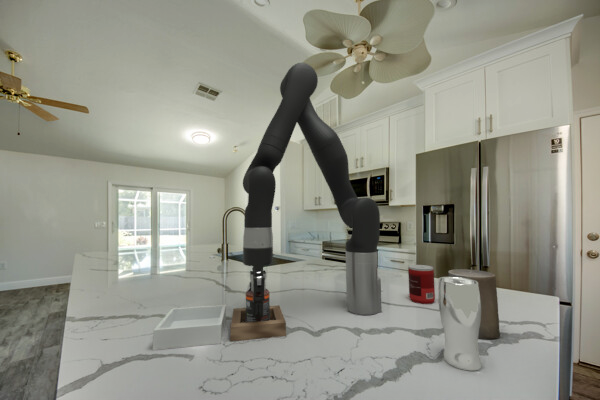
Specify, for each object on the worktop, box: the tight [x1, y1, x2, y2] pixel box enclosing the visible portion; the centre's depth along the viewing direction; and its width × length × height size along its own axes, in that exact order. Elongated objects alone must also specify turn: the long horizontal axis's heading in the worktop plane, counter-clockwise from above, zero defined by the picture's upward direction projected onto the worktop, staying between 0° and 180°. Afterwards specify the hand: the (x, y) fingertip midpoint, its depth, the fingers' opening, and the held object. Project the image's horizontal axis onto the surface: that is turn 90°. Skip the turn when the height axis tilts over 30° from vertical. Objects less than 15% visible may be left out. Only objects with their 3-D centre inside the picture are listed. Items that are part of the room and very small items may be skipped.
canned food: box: [407, 264, 436, 305], centre depth 86 cm, size 8×8×11 cm
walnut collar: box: [230, 305, 287, 342], centre depth 65 cm, size 12×12×3 cm
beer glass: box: [437, 276, 482, 372], centre depth 49 cm, size 7×7×15 cm
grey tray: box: [152, 304, 227, 351], centre depth 62 cm, size 14×14×4 cm
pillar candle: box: [448, 267, 501, 340], centre depth 63 cm, size 10×10×15 cm
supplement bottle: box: [245, 280, 271, 323], centre depth 65 cm, size 6×6×11 cm
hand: (257, 312), depth 65 cm, fingers closed on supplement bottle, 6 cm apart
